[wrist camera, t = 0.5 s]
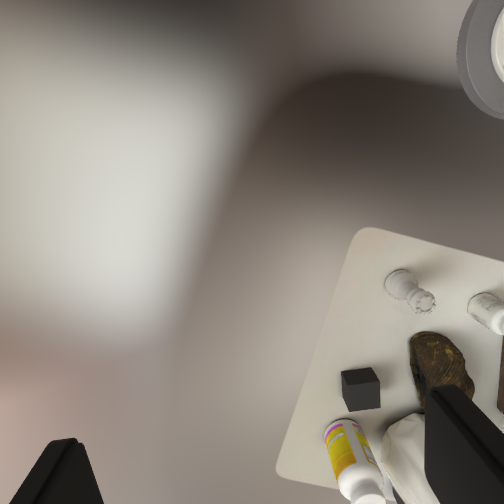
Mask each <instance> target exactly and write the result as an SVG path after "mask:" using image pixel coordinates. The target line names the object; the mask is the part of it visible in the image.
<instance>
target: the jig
mask: <svg viewBox="0 0 504 504" xmlns="http://www.w3.org/2000/svg"><path fill="white" fill-rule="evenodd" d="M497 408H498V409H499V410H500V411H501V412H502V413H503V414H504V336H503V346H502V357H501V369H500V380H499V392H498V404H497Z"/></svg>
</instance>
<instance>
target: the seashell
mask: <svg viewBox="0 0 504 504" xmlns="http://www.w3.org/2000/svg"><path fill="white" fill-rule="evenodd" d="M409 344H410V357H411V358H410V366H411V369H412V373H413V377H414V381H415V385H416V389H417V393H418V397H419V400H420V405H421V407H422V409H423V410H424V411H425V395H426V394H427V393H430V389H431V388H432V387H434V386H440V385H447V384H455V385H457V386H458V387H459V388H460V389H461V390H462V391H463V392H464V393H465V394H466V395H467V396H468V397H469V398H470V399H471V400H472V398H473V395H474V392H475V386H474V383H473V381H472V379H471V378H470V377H469V376H468V374H467V371H466V369H465V359H464V357H463V355H462V353H461V352H460V350H459V349H458V348H457V347H456V346H455V345H454V344H453V343H452V342H451V340H449V339H448V338H447V337H445V336H442V335H440V334H436V333H427V332H426V333H419V334H417V335H416V336H414V337H412V338H411V340H410V342H409Z"/></svg>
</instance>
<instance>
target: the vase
mask: <svg viewBox="0 0 504 504" xmlns="http://www.w3.org/2000/svg"><path fill="white" fill-rule="evenodd" d="M424 439H425V414H423V415H422V414H417V413H412V414H410V415H408V416H406V417H405V418H403V419H401V420H400V421H398V422H396V423H394V424H392V425H391V426H389V428H388V429H387V431H386V432H385V434H384V436H383V439H382V449H381V461H382V463H383V465H384V468H385V470H386V472H387V474H388V476H389V478H390V480H391V482H392V485H393V487H394V488H395V490H396V492H397V493H398V494H399V496H400V497H401V499H402V500H403V501H404V503H405V504H440V503H439V501H438V499H437V498H436V496H435V494H434V493H433V491H432V489H431V487H430V486H429V484H428V481H427V479H426V476H425V472H424Z"/></svg>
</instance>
